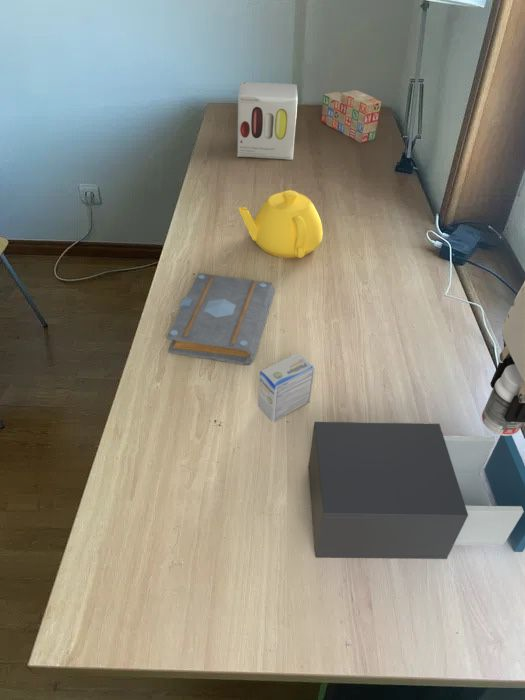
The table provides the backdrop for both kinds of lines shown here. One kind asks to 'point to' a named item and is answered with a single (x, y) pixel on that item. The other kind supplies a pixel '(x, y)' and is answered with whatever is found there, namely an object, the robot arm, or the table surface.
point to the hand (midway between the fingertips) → (510, 402)
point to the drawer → (506, 484)
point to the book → (222, 319)
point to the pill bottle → (503, 402)
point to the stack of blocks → (352, 114)
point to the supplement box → (266, 120)
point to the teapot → (285, 225)
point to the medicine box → (285, 386)
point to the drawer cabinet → (383, 491)
